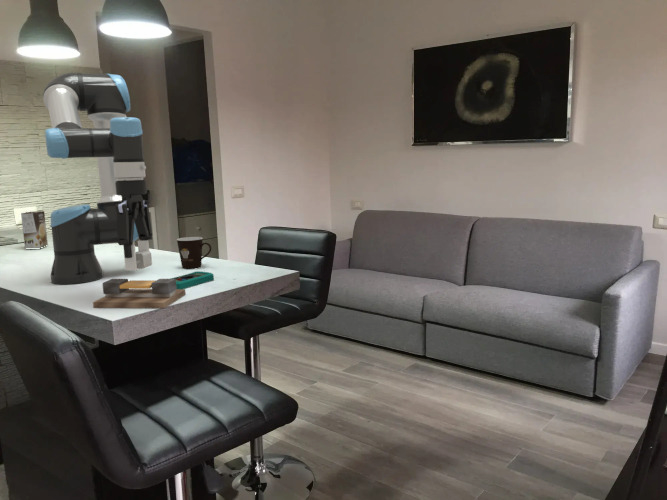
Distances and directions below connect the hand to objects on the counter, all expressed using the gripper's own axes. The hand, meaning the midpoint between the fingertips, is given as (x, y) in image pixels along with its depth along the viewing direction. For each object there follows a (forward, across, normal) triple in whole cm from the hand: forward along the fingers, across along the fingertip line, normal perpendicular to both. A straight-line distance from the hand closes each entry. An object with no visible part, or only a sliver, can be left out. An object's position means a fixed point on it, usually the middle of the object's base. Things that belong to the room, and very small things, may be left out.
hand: (138, 267), depth 145 cm
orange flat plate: (+5, 0, 0) cm, 5 cm away
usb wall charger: (0, 0, 0) cm, 0 cm away
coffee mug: (+9, +44, +2) cm, 45 cm away
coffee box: (+8, +88, +91) cm, 127 cm away
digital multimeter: (+10, +20, -5) cm, 23 cm away
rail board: (+9, 0, 0) cm, 9 cm away
